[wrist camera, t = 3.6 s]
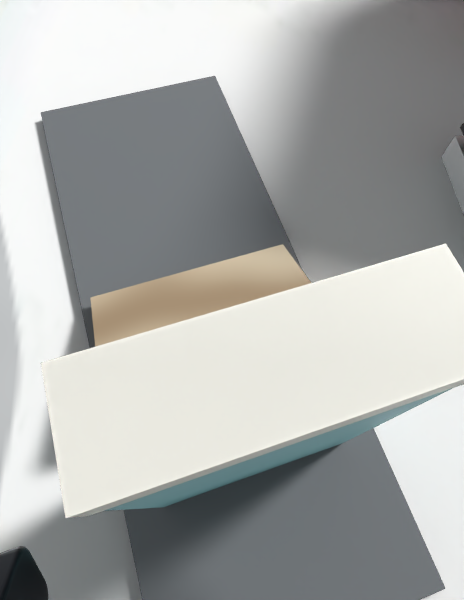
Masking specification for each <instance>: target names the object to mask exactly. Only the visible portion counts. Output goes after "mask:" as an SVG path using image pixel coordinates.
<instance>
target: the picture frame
mask: <svg viewBox="0 0 464 600" xmlns="http://www.w3.org/2000/svg"><path fill="white" fill-rule="evenodd" d="M460 128H461V130H462V132H463V135H464V123H463V124H462V125H461V127H460ZM441 158H442V161H443V163H444V166H445V168H446V171H447V173H448V176H449V178H450V181H451V184H452V186H453V189H454V191H455V194H456V196H457V199H458V201H459V204H460V207H461V209H462V212H463V214H464V136H455V137H454V138H453V139H452V141H451V143H450V144H449V146H448V147H447V149H446V151H445V152H444V154H443V155H442V157H441Z"/></svg>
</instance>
